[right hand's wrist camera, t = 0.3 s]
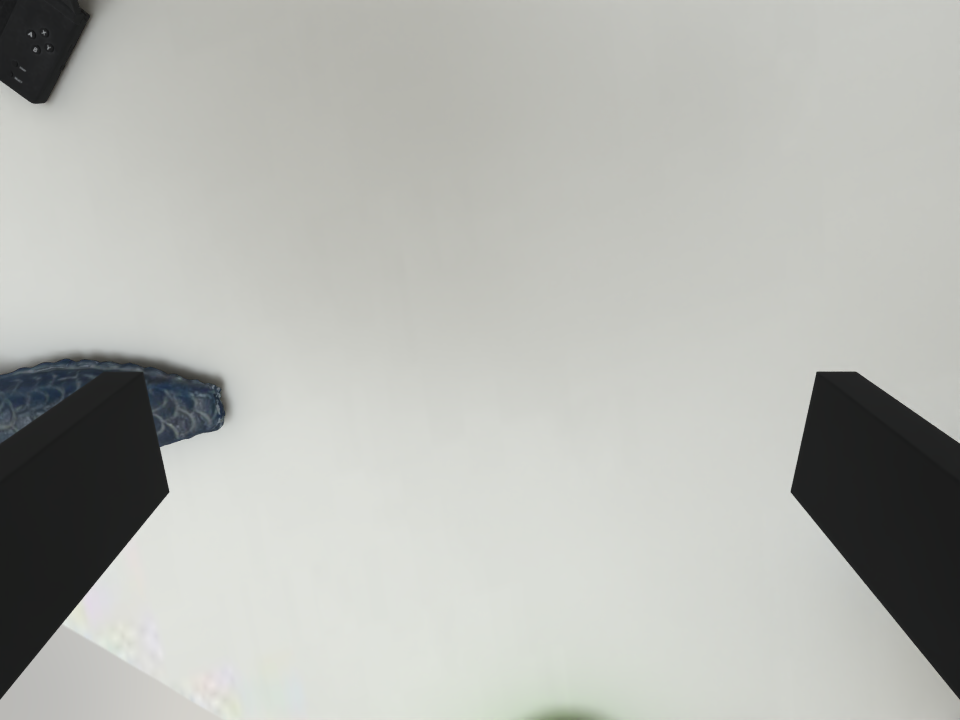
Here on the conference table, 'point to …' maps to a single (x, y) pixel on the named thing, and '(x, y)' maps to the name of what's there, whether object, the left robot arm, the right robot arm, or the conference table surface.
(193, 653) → the conference table surface
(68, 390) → the fish model
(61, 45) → the handheld gaming console
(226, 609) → the conference table surface
